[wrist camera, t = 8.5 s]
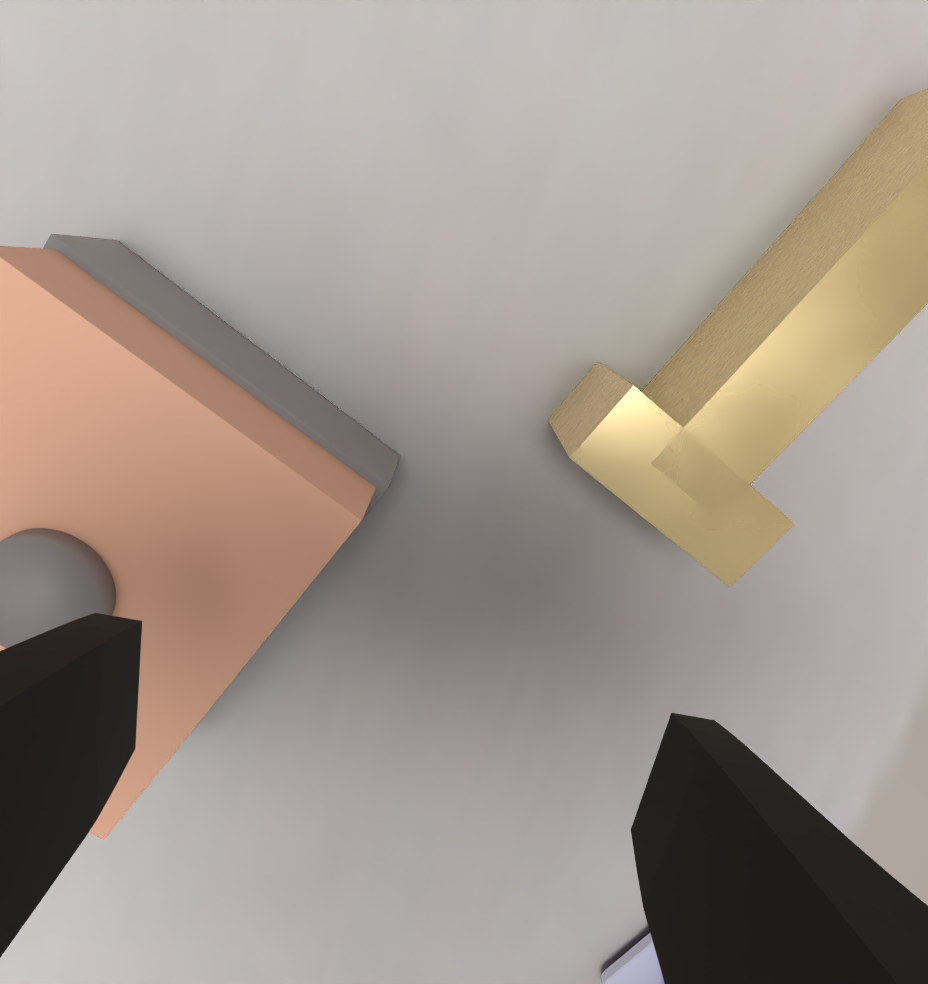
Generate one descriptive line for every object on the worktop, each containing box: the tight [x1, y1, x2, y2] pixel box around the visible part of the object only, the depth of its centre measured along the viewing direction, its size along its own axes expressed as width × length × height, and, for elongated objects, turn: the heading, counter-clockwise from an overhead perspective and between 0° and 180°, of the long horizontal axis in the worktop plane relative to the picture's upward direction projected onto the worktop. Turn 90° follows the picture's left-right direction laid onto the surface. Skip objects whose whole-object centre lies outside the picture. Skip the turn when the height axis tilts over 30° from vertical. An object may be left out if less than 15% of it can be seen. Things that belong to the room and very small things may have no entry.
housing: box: [43, 234, 400, 518], centre depth 16 cm, size 8×10×2 cm
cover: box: [0, 246, 376, 840], centre depth 13 cm, size 8×10×3 cm
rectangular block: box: [548, 89, 928, 587], centre depth 14 cm, size 10×4×4 cm, turn 141°
